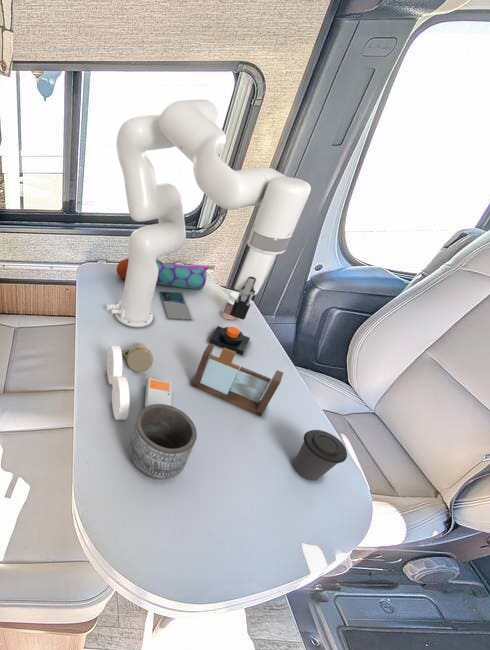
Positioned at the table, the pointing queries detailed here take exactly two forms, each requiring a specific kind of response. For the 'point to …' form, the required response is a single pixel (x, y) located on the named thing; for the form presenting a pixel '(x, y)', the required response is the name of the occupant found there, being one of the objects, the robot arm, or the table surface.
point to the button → (232, 332)
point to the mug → (139, 357)
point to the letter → (118, 384)
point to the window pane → (220, 371)
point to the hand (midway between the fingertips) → (242, 307)
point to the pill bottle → (229, 305)
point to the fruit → (122, 268)
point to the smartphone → (175, 305)
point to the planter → (162, 441)
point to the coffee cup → (318, 454)
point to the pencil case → (181, 275)
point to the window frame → (242, 387)
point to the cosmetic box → (158, 392)
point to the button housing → (229, 340)
